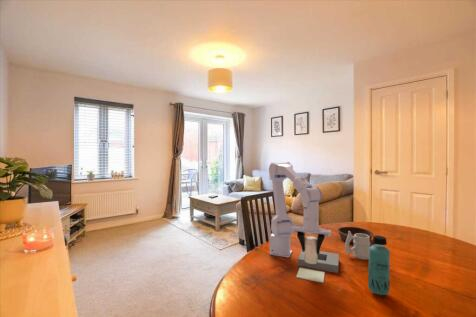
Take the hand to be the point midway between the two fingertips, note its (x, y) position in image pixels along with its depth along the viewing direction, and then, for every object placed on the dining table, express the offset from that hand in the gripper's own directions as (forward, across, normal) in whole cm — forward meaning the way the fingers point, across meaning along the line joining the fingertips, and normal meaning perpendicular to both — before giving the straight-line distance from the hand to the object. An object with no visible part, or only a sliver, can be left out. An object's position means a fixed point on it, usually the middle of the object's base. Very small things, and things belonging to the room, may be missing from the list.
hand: (310, 251), depth 95 cm
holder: (+9, +2, +12) cm, 15 cm away
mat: (+9, 0, 0) cm, 9 cm away
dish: (+10, +18, +49) cm, 53 cm away
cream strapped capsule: (+4, 0, 0) cm, 4 cm away
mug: (+10, +18, +26) cm, 33 cm away
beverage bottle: (+10, +23, -4) cm, 25 cm away
